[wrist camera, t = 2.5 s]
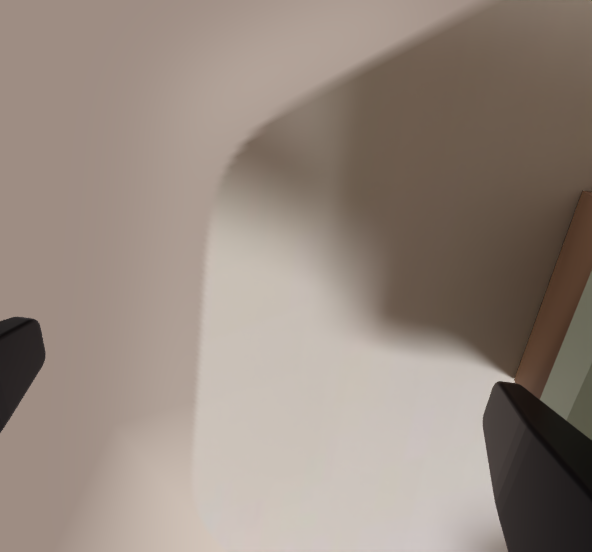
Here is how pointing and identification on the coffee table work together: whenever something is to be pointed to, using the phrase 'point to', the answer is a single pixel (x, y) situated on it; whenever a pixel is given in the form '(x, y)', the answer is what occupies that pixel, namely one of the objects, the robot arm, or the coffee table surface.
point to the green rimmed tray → (574, 369)
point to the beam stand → (559, 301)
